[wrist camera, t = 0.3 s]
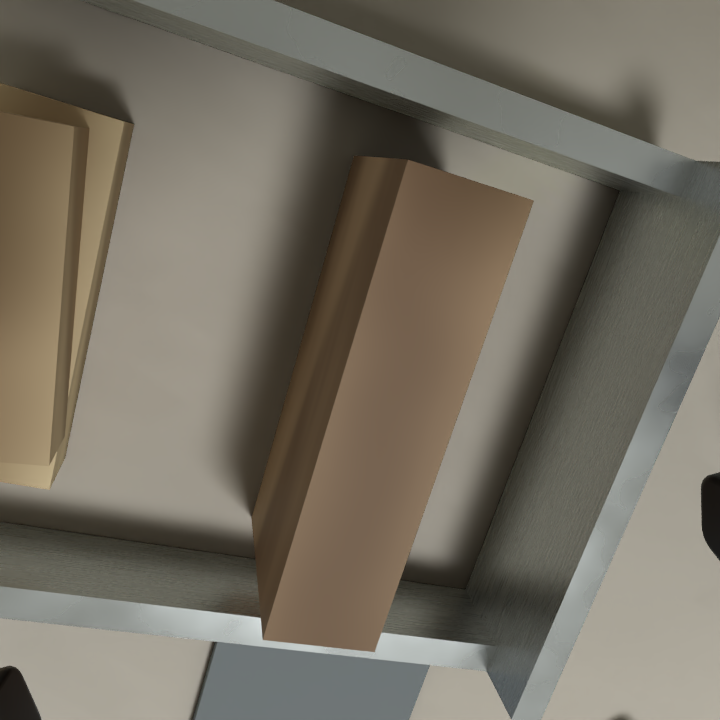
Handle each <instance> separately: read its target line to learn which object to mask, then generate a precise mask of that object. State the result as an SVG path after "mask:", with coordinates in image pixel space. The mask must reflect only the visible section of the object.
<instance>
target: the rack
mask: <svg viewBox="0 0 720 720" xmlns="http://www.w3.org/2000/svg"><path fill="white" fill-rule="evenodd" d="M81 1H83V2H86V3H89V4H92V5H95V6H98V7H100V8H103V9H106V10H109V11H112V12H115V13H117V14H120V15H123V16H126V17H129V18H132V19H135V20H137V21H140V22H143V23H146V24H149V25H152V26H154V27H157V28H160V29H163V30H166V31H169V32H171V33H174V34H177V35H180V36H183V37H186V38H189V39H191V40H194V41H197V42H200V43H203V44H206V45H208V46H211V47H214V48H217V49H220V50H223V51H225V52H228V53H231V54H234V55H237V56H240V57H243V58H245V59H248V60H251V61H254V62H257V63H260V64H262V65H265V66H268V67H271V68H274V69H277V70H279V71H282V72H285V73H288V74H291V75H294V76H297V77H299V78H302V79H305V80H308V81H311V82H314V83H316V84H319V85H322V86H325V87H328V88H331V89H333V90H336V91H339V92H342V93H345V94H348V95H350V96H353V97H356V98H359V99H362V100H365V101H368V102H370V103H373V104H376V105H379V106H382V107H385V108H387V109H390V110H393V111H396V112H399V113H402V114H404V115H407V116H410V117H413V118H416V119H419V120H422V121H424V122H427V123H430V124H433V125H436V126H439V127H441V128H444V129H447V130H450V131H453V132H456V133H458V134H461V135H464V136H467V137H470V138H473V139H476V140H478V141H481V142H484V143H487V144H490V145H493V146H495V147H498V148H501V149H504V150H507V151H510V152H512V153H515V154H518V155H521V156H524V157H527V158H530V159H532V160H535V161H538V162H541V163H544V164H547V165H549V166H552V167H555V168H558V169H561V170H564V171H566V172H569V173H572V174H575V175H578V176H581V177H584V178H586V179H589V180H592V181H595V182H598V183H601V184H603V185H606V186H609V187H612V188H615V189H618V190H620V192H619V195H618V197H617V200H616V202H615V205H614V207H613V210H612V213H611V215H610V218H609V220H608V223H607V225H606V228H605V231H604V233H603V236H602V238H601V241H600V244H599V246H598V249H597V251H596V254H595V256H594V259H593V262H592V264H591V267H590V269H589V272H588V275H587V277H586V280H585V282H584V285H583V287H582V290H581V293H580V295H579V298H578V300H577V303H576V306H575V308H574V311H573V313H572V316H571V318H570V321H569V324H568V326H567V329H566V331H565V334H564V337H563V339H562V342H561V344H560V347H559V349H558V352H557V355H556V357H555V360H554V362H553V365H552V368H551V370H550V373H549V375H548V378H547V380H546V383H545V386H544V388H543V391H542V393H541V396H540V399H539V401H538V404H537V406H536V409H535V411H534V414H533V417H532V419H531V422H530V424H529V427H528V429H527V432H526V435H525V437H524V440H523V442H522V445H521V448H520V450H519V453H518V455H517V458H516V460H515V463H514V466H513V468H512V471H511V473H510V476H509V479H508V481H507V484H506V486H505V489H504V491H503V494H502V497H501V499H500V502H499V504H498V507H497V510H496V512H495V515H494V517H493V520H492V522H491V525H490V528H489V530H488V533H487V535H486V538H485V541H484V543H483V546H482V548H481V551H480V553H479V556H478V559H477V561H476V564H475V566H474V569H473V572H472V574H471V577H470V579H469V582H468V584H467V587H466V590H464V589H457V588H450V587H443V586H437V585H430V584H423V583H416V582H409V581H402V580H400V582H399V584H398V587H397V590H396V593H395V596H394V599H393V601H392V604H391V607H390V610H389V613H388V616H387V618H386V621H385V624H384V627H383V630H382V633H381V635H380V638H379V641H378V644H377V647H376V650H375V652H369V651H359V650H350V649H341V648H332V647H322V646H313V645H304V644H295V643H285V642H276V641H267V640H263V638H262V627H261V616H260V605H259V594H258V583H257V572H256V560H255V559H251V558H244V557H237V556H230V555H223V554H216V553H209V552H203V551H196V550H189V549H182V548H175V547H168V546H161V545H154V544H148V543H141V542H134V541H127V540H120V539H113V538H106V537H99V536H93V535H86V534H79V533H72V532H65V531H58V530H51V529H44V528H37V527H31V526H24V525H17V524H10V523H3V522H0V618H4V619H13V620H22V621H31V622H41V623H50V624H59V625H68V626H77V627H86V628H95V629H105V630H114V631H123V632H132V633H141V634H150V635H160V636H169V637H178V638H187V639H196V640H205V641H214V642H224V643H233V644H242V645H251V646H260V647H269V648H279V649H288V650H297V651H306V652H315V653H324V654H333V655H343V656H352V657H361V658H370V659H379V660H388V661H398V662H407V663H416V664H425V665H434V666H443V667H452V668H462V669H471V670H480V671H487V673H488V675H489V677H490V678H491V680H492V682H493V684H494V686H495V688H496V690H497V692H498V694H499V696H500V698H501V700H502V702H503V704H504V706H505V708H506V710H507V712H508V714H509V716H510V718H511V720H541V718H542V716H543V714H544V712H545V709H546V707H547V705H548V703H549V700H550V698H551V696H552V694H553V691H554V689H555V687H556V685H557V682H558V680H559V678H560V676H561V673H562V671H563V669H564V667H565V664H566V662H567V660H568V657H569V655H570V653H571V651H572V648H573V646H574V644H575V642H576V639H577V637H578V635H579V633H580V630H581V628H582V626H583V624H584V621H585V619H586V617H587V615H588V612H589V610H590V608H591V606H592V603H593V601H594V599H595V597H596V594H597V592H598V590H599V588H600V585H601V583H602V581H603V579H604V576H605V574H606V572H607V570H608V567H609V565H610V563H611V560H612V558H613V556H614V554H615V551H616V549H617V547H618V545H619V542H620V540H621V538H622V536H623V533H624V531H625V529H626V527H627V524H628V522H629V520H630V518H631V515H632V513H633V511H634V509H635V506H636V504H637V502H638V500H639V497H640V495H641V493H642V491H643V488H644V486H645V484H646V482H647V479H648V477H649V475H650V473H651V470H652V468H653V466H654V463H655V461H656V459H657V457H658V454H659V452H660V450H661V448H662V445H663V443H664V441H665V439H666V436H667V434H668V432H669V430H670V427H671V425H672V423H673V421H674V418H675V416H676V414H677V412H678V409H679V407H680V405H681V403H682V400H683V398H684V396H685V394H686V391H687V389H688V387H689V385H690V382H691V380H692V378H693V376H694V373H695V371H696V369H697V367H698V364H699V362H700V360H701V357H702V355H703V353H704V351H705V348H706V346H707V344H708V342H709V339H710V337H711V335H712V333H713V330H714V328H715V326H716V324H717V321H718V319H719V317H720V162H709V161H695V160H692V159H689V158H687V157H684V156H682V155H679V154H676V153H674V152H671V151H668V150H666V149H663V148H661V147H658V146H655V145H653V144H650V143H647V142H645V141H642V140H640V139H637V138H634V137H632V136H629V135H626V134H624V133H621V132H618V131H616V130H613V129H611V128H608V127H605V126H603V125H600V124H597V123H595V122H592V121H590V120H587V119H584V118H582V117H579V116H576V115H574V114H571V113H569V112H566V111H563V110H561V109H558V108H555V107H553V106H550V105H548V104H545V103H542V102H540V101H537V100H534V99H532V98H529V97H526V96H524V95H521V94H519V93H516V92H513V91H511V90H508V89H505V88H503V87H500V86H498V85H495V84H492V83H490V82H487V81H484V80H482V79H479V78H477V77H474V76H471V75H469V74H466V73H463V72H461V71H458V70H456V69H453V68H450V67H448V66H445V65H442V64H440V63H437V62H434V61H432V60H429V59H427V58H424V57H421V56H419V55H416V54H413V53H411V52H408V51H406V50H403V49H400V48H398V47H395V46H392V45H390V44H387V43H385V42H382V41H379V40H377V39H374V38H371V37H369V36H366V35H364V34H361V33H358V32H356V31H353V30H350V29H348V28H345V27H342V26H340V25H337V24H335V23H332V22H329V21H327V20H324V19H321V18H319V17H316V16H314V15H311V14H308V13H306V12H303V11H300V10H298V9H295V8H293V7H290V6H287V5H285V4H282V3H279V2H277V1H274V0H81Z"/></svg>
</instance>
